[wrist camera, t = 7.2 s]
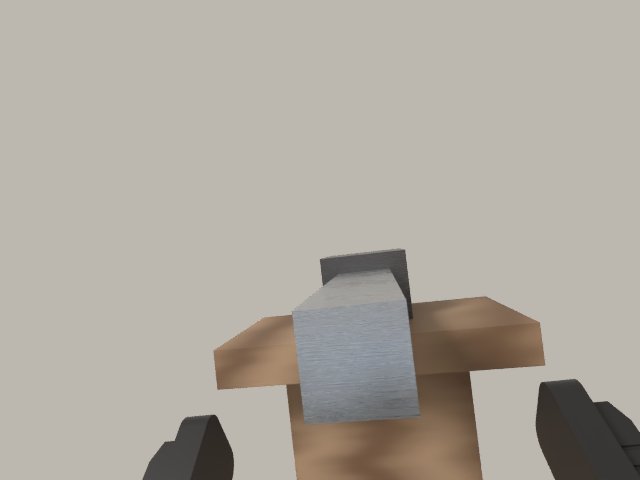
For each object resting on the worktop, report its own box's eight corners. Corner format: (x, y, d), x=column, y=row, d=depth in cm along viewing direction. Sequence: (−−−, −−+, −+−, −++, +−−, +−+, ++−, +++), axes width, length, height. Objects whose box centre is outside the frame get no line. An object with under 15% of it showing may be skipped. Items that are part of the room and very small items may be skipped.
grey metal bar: (267, 426, 11) (251, 277, 11) (336, 310, 31) (330, 256, 31) (460, 415, 11) (441, 256, 11) (406, 304, 31) (399, 248, 31)
